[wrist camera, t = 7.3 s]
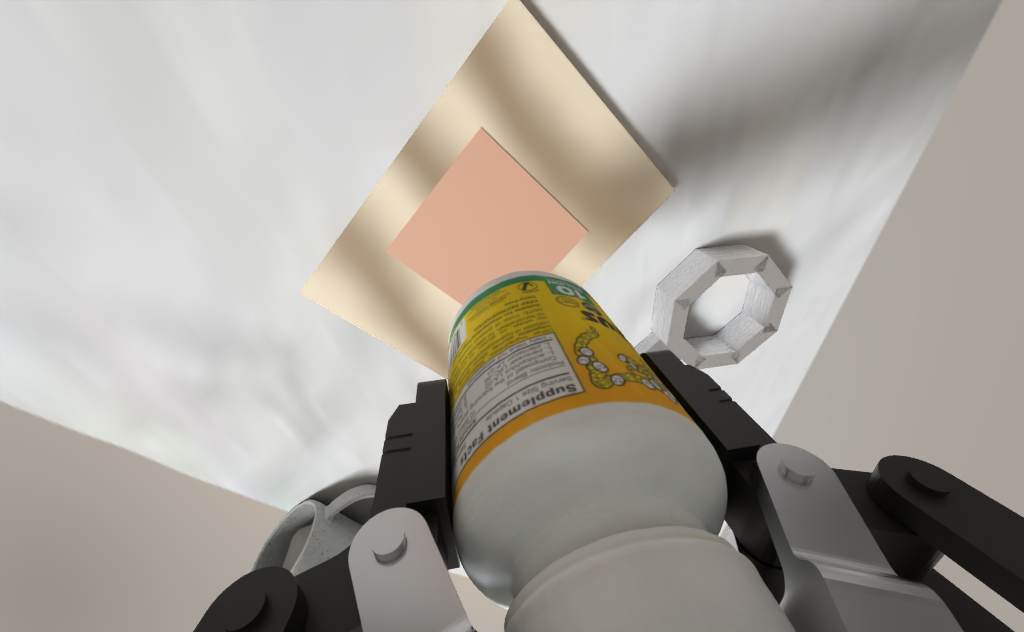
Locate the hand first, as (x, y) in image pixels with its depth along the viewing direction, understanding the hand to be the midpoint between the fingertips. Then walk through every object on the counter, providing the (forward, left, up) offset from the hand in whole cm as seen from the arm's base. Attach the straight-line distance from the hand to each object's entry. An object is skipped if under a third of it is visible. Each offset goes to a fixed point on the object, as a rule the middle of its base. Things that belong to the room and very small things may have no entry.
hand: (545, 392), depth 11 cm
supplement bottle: (0, 0, -3) cm, 3 cm away
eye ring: (-2, +16, -16) cm, 23 cm away
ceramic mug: (+28, +6, -16) cm, 33 cm away
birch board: (0, 0, -16) cm, 16 cm away
